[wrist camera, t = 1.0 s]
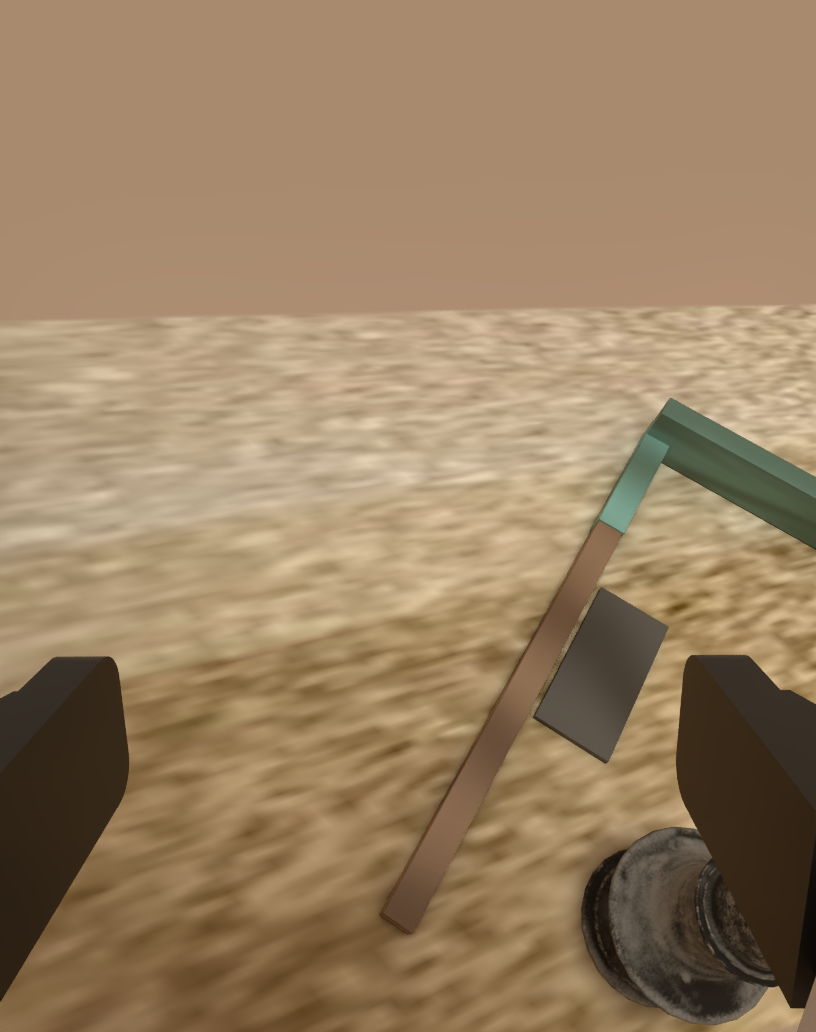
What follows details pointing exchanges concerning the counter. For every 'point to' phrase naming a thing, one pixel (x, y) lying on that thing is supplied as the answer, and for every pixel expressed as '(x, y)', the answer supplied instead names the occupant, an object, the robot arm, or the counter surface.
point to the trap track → (602, 629)
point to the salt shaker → (673, 931)
